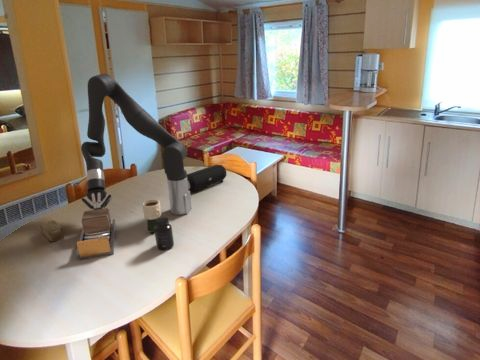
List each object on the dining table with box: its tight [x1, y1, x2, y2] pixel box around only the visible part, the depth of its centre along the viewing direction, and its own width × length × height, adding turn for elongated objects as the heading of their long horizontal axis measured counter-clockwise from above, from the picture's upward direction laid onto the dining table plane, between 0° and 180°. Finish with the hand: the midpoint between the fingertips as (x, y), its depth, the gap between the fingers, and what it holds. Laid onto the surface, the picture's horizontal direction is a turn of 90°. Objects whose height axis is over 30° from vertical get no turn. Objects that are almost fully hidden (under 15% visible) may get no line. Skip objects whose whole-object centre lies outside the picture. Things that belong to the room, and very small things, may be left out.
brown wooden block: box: [81, 207, 112, 234], centre depth 145 cm, size 8×10×7 cm
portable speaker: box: [187, 164, 227, 193], centre depth 191 cm, size 26×10×10 cm, turn 134°
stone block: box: [40, 220, 65, 242], centre depth 146 cm, size 6×12×5 cm, turn 46°
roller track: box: [75, 219, 117, 261], centre depth 141 cm, size 24×13×7 cm, turn 16°
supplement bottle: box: [153, 216, 175, 251], centre depth 135 cm, size 7×7×12 cm
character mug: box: [142, 198, 162, 233], centre depth 147 cm, size 11×7×13 cm, turn 47°
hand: (98, 217), depth 150 cm, fingers closed
